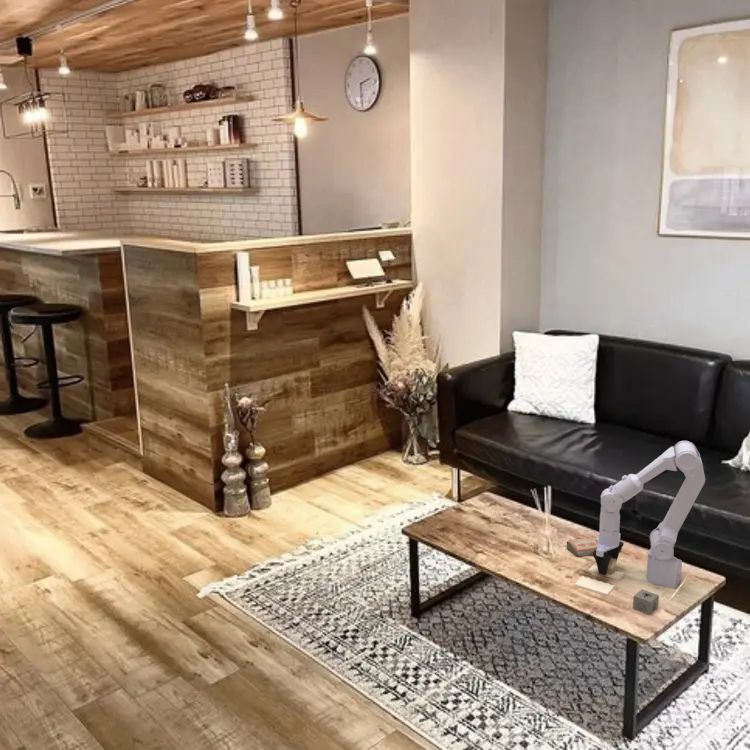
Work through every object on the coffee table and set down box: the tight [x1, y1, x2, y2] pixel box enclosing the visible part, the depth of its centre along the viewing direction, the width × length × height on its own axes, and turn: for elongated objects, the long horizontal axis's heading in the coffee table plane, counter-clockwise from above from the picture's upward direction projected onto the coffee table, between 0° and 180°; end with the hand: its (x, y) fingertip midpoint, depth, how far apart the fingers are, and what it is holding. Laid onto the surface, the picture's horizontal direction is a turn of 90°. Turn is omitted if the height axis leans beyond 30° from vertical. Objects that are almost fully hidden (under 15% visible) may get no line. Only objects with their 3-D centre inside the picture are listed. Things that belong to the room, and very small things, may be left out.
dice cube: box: [632, 589, 660, 616], centre depth 216 cm, size 5×5×5 cm
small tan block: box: [587, 558, 626, 582], centre depth 235 cm, size 10×4×5 cm, turn 53°
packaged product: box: [560, 536, 624, 558], centre depth 251 cm, size 18×5×10 cm
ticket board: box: [574, 575, 616, 596], centre depth 231 cm, size 18×16×2 cm
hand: (607, 569), depth 236 cm, fingers open, 7 cm apart
